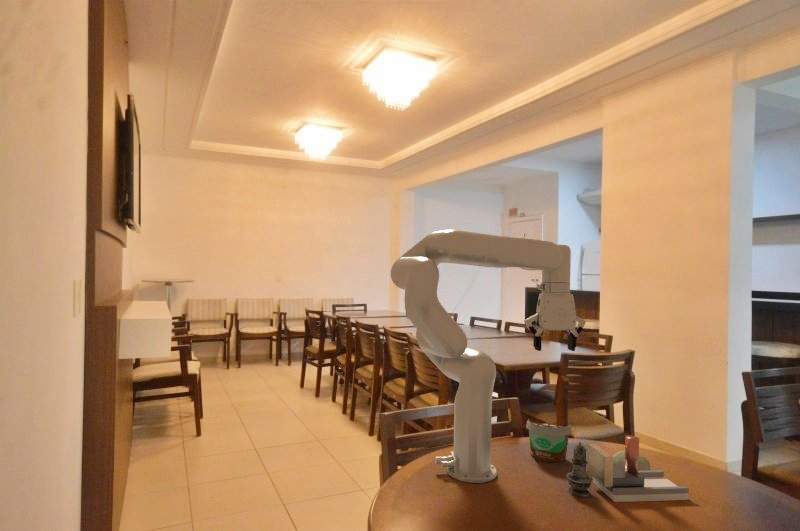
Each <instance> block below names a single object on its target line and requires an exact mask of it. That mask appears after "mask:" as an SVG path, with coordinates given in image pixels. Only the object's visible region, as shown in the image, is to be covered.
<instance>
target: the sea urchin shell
mask: <svg viewBox="0 0 800 531" xmlns="http://www.w3.org/2000/svg"><path fill="white" fill-rule="evenodd" d="M612 456H613V465H625V449H622V450H618V451H616V452H615V453H614V454H613V455H612ZM647 470H651V464H650V462H649V460H648V458H647V457H646V456H644V454H642V453H640V452H639V471H647Z"/></svg>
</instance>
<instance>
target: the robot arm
mask: <svg viewBox="0 0 800 531" xmlns="http://www.w3.org/2000/svg"><path fill="white" fill-rule="evenodd" d="M571 252H572V250H571V248H570V246H569V245H566V244H557V243H555V242H552V241H548V240H541V239H532V238H526V237H525V238H522V237H514V236H513V237H512V236H506V235H498V234H497V235H496V234H490V233H480V232H474V231H466V230H461V229H460V230H459V229H444V230H438V231H433V232H431V233H429V234H427V235H426V236H425V237H423V238H422V239H420V241H418V242H416V243H415V244H414V245H413V246H412V247H411V248H410V249H408V250H407V251H406V252H404V253H403V254H401V255H400V256H399V257H398V258H397V259H396V260H395V262H393V264H392V266H391V269H390V279H391V282H392V283H393V284H394V285H395V286H396V287H397V288H399V289H401V290H404V309H405V314H406V316H407V317H408V320H410V322H411V324H412V325H413V326H414V328H416V332H415V339H416V342H417V345H418V347H419V348H420V349H421V351H422V352H423V354H425V356H426V357H428V359H429V360H430V361H431V362H432V363H433V364H434V365H435V366H436V368H437V369H439V371H440V372H442V374H444V376H446V377H447V378H448V379H451V380H453V381H455V382H458V383H459V385H458V388H457V391H456V392H455V393H456V394H455V397H454V403H453V404H454V406H453V408H454V409H453V413H454V414H453V416H454V417H453V450H451V451H450V454H447V455H446V456H440V455H437V456H436V455H435V457H434V462H435V465H441V468H447V469H446V471H447V474H448V475H449V476H450V477H452V478H453V479H455V480H457V481H460V482H464V483H470V484H473V483H474V484H481V483H482V484H483V483H487V482H488V483H489V482H490V481H493V480H494V479H495V478H496V477H497V475H498V474H497V473H498V472H497V468H496V466H494V465H493V464H492V463H491V461H492V456H491V455H492V416H493V415H492V413H493V412H492V407H493V405H492V404H493V393H494V386H495V381H496V376H497V367H496V363H495V361H494V360H493V358H492V357H491V356H490V355H489V354H487V353H486V352H484V351H482V350H479V349H476V348H472V347H468V337H467V335H466V332H465V331H464V329H463V328H462V327H461V326H460V325H459V323H457V322H456V320H455V319H454V318H453V316H451V315H450V314H449V312H448V311H447V310H446V308H445V307H444V306H443V305H442V303H441V302H440V300H439V298H438V286H439V282H440V270H439V267H438V266H439V265H440V264H447V263H448V264H456V265H457V264H459V265H464V266H465V265H466V266H475V267H482V268H498V269H499V268H500V269H501V268H502V269H503V268H519V269H522V270H524V271H541V282H540V284H537V285H536V288H537V290H540V292H541V293H539V294H538V299H537V304H536V311H535V312H536V313H534V314H533V315H530V316H529V317H528V318H526V319H524V324H525V326H526V329H527V330H528V331H529V332H530V333H531V334H532V335H533V340H532V341H533V342H532V343H533V345H532V346H533V348H534V350H535V351H537V352H541V351H542V341H543V340H542V336H541V335H542V333H543V332H544V331H567V332H568V334H569V335H568V336H567V350H569V351H572V352H575V351H576V348H577V337H579V334H581V332H582V331H583V330H584V329H583V328H584V327H585V325H586V323H587V320H585V319H583V318H581V317H579V316H578V315H577V312H576V302H575V297H574V294H571V259H572V257H571V256H572V255H571V254H572V253H571ZM533 322H535V325H536V327H533V326H534V325H533V324H532V323H533Z"/></svg>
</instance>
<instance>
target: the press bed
mask: <svg viewBox="0 0 800 531" xmlns="http://www.w3.org/2000/svg"><path fill="white" fill-rule="evenodd" d="M639 474H640V475H642V476H643V477H644V487H636V488H612V491H611V490H610V489H608V488H607V487H604V486H603V485H601V484H600V483H599V482H598V481H597V480H596V479H595V478H593V477H592V479H593V481H592V483H593V484H594V485H595V486H596V487H597V488H598V489H599V490H601V491H602V492H603V493H604V494H605V495H606V496H607V497H608V498H610V499H611V501H613V502H614V503H620V502H622V503H626V502H656V501H657V502H659V501H661V502H662V501H689V491H690V490H689V487H687V486H686V485H685V486H684V485H683V486H682V485H681V486H678V485H677V484H675V483H674V482H672V481H671V480H669V479H668V478H667V477H665V473H664V470H662V469H659V470H658V469H655V470H654V469H652V470H651V469H650V470H647V471H639Z"/></svg>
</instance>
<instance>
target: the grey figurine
mask: <svg viewBox="0 0 800 531" xmlns="http://www.w3.org/2000/svg"><path fill="white" fill-rule="evenodd" d="M571 462H572V471H571V472H568V473H567V474H566V475H565V477H566V478H567V482H568V485H569V486H570V487H568V488H567V490H566V491H567V493H568V494H569V495H571V496H573V497H575V496H576V498H580V497H581V498H580V499H583V498H584V499H587V498H589V497H591V496H592V493H591V492H590V490H588V489H589V488H590V487H591V485H592V483H593V477H592V476H591V475H590V474H589V475H588V471H587V465H588V460H587V449H586V447H585V446H584V445H582V442H581V441H579V443H578V444H577V445H575V446H574V447H573V458H572V459H571Z"/></svg>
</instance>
